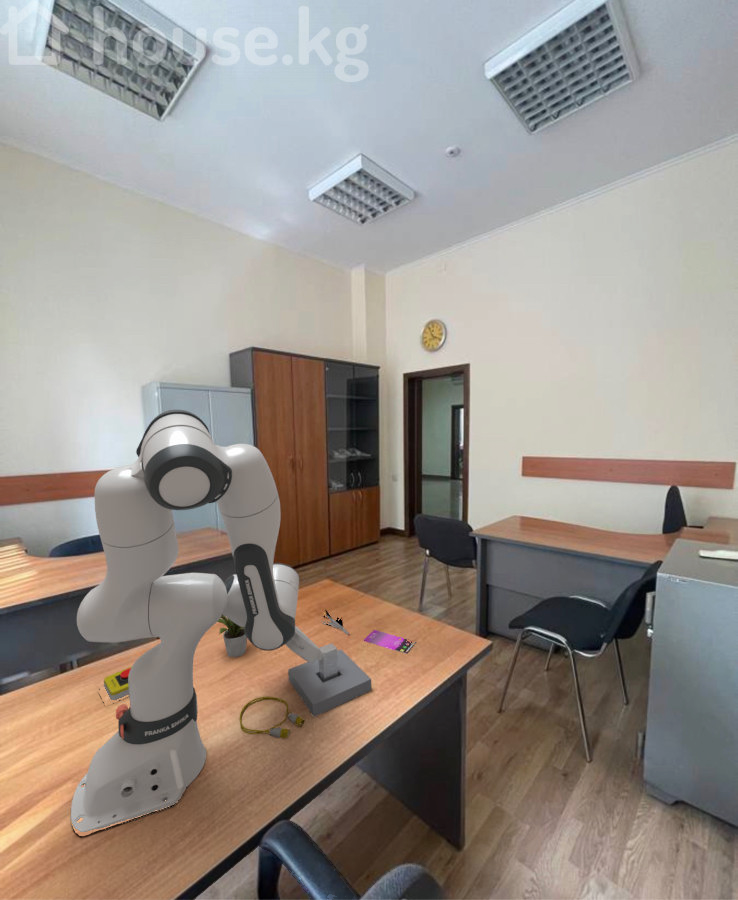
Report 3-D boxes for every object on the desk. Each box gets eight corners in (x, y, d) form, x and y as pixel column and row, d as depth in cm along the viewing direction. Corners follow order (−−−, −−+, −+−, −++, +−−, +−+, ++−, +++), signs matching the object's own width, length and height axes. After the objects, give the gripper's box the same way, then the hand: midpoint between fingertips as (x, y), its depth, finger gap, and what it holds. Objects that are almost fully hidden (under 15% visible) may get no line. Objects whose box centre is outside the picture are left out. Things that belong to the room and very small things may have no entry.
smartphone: (406, 656, 114) (407, 653, 114) (363, 642, 122) (363, 639, 122) (416, 644, 121) (416, 641, 121) (374, 631, 128) (374, 628, 128)
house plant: (239, 674, 107) (236, 616, 106) (199, 665, 112) (195, 610, 111) (269, 645, 121) (266, 594, 120) (231, 639, 125) (229, 589, 124)
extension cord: (254, 757, 81) (254, 748, 80) (232, 713, 93) (231, 705, 93) (308, 729, 88) (307, 721, 87) (280, 691, 100) (280, 684, 100)
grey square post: (324, 691, 99) (323, 653, 99) (319, 685, 102) (318, 648, 101) (339, 685, 102) (337, 648, 101) (333, 679, 104) (332, 642, 103)
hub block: (313, 717, 91) (313, 704, 90) (288, 680, 104) (288, 669, 104) (371, 690, 99) (371, 679, 99) (341, 659, 113) (341, 649, 112)
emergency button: (95, 676, 102) (157, 651, 113) (96, 692, 102) (158, 665, 113) (104, 692, 95) (169, 664, 106) (105, 709, 96) (170, 679, 106)
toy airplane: (338, 640, 123) (338, 633, 123) (310, 614, 141) (310, 608, 141) (359, 632, 128) (359, 625, 127) (329, 608, 145) (329, 602, 145)
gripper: (300, 628, 86) (339, 655, 92) (267, 597, 103) (302, 621, 109) (282, 654, 84) (324, 680, 90) (251, 618, 101) (288, 642, 107)
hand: (312, 648), depth 100 cm, fingers open, 8 cm apart
